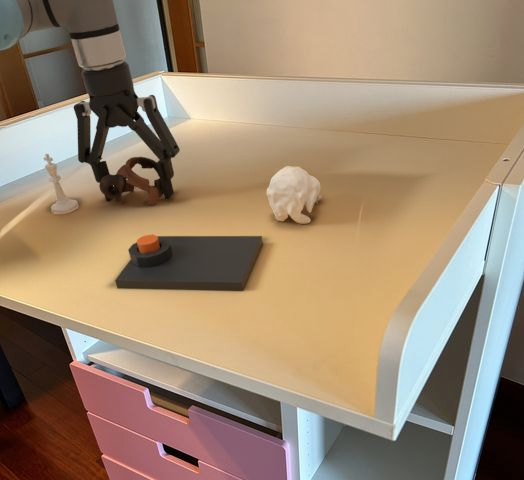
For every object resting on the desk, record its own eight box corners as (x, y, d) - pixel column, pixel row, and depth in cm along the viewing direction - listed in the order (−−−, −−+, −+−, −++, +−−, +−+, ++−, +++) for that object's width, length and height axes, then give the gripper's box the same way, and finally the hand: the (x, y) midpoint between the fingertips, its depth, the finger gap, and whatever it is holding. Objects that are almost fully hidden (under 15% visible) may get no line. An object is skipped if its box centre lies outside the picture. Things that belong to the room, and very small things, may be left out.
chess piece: (65, 216, 100) (46, 160, 94) (45, 212, 102) (25, 158, 96) (84, 204, 103) (67, 150, 97) (65, 201, 106) (47, 148, 99)
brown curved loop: (143, 187, 108) (154, 150, 103) (168, 219, 105) (181, 184, 100) (85, 192, 101) (94, 153, 95) (111, 228, 98) (121, 189, 92)
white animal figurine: (261, 171, 83) (294, 151, 91) (265, 226, 87) (296, 202, 96) (301, 174, 80) (331, 153, 89) (302, 231, 85) (331, 205, 94)
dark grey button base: (117, 288, 78) (111, 270, 76) (150, 244, 88) (146, 226, 86) (242, 291, 74) (239, 271, 72) (263, 244, 84) (260, 225, 82)
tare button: (136, 254, 80) (133, 244, 79) (143, 244, 82) (141, 234, 81) (155, 254, 79) (153, 244, 78) (163, 244, 81) (160, 234, 80)
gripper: (180, 52, 88) (206, 186, 102) (50, 65, 94) (91, 191, 107) (164, 63, 83) (194, 204, 96) (26, 77, 88) (73, 208, 102)
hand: (140, 197), depth 102 cm, fingers closed on brown curved loop, 11 cm apart
